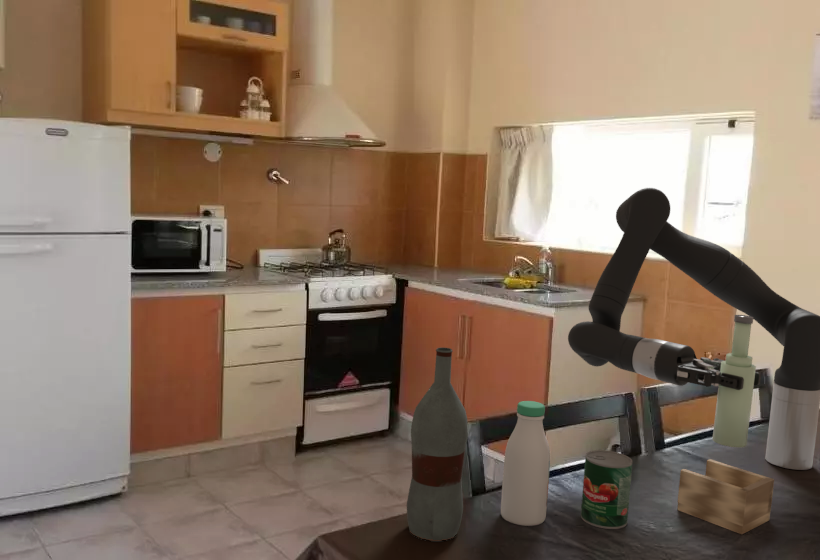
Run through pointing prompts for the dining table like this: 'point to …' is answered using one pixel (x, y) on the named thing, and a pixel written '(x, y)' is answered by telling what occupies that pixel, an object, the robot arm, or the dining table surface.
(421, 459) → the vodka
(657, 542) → the dining table surface
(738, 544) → the dining table surface
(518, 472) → the milk bottle
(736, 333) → the glass bottle
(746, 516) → the cradle
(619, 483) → the canned tomato
